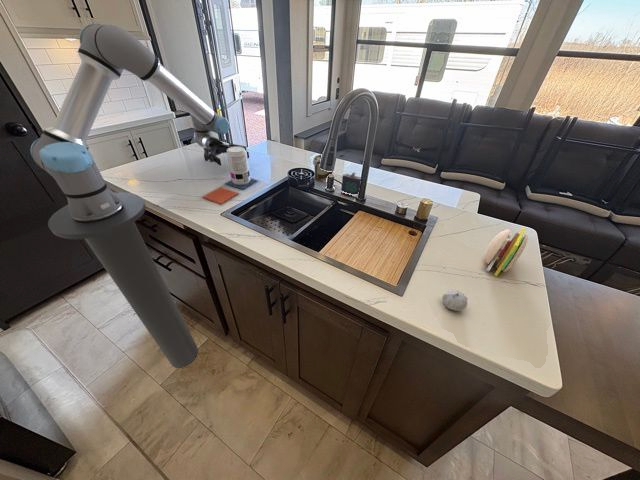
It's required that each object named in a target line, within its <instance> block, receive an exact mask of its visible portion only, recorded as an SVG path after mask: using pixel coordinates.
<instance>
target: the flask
mask: <svg viewBox="0 0 640 480" xmlns="http://www.w3.org/2000/svg"><path fill="white" fill-rule="evenodd" d="M356 174H357V173H356V172H352V173H351V174H350V173H344V174H343V175H342V180H341V188H340V195H343V196H345V197H350V198H353V197H352V195H349V194H345V193H342V192H341V190H342V191H344V192H347V193H351V194H358V192H359V188H360V181H361V177H362V176H357V175H356Z"/></svg>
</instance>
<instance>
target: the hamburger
mask: <svg viewBox="0 0 640 480" xmlns="http://www.w3.org/2000/svg"><path fill="white" fill-rule="evenodd" d="M526 230H527V228H526V227H522V228H521V230H520V231H519V232H516V233H515V234H514V235H513V233H511V231H512V229H504V230H502V231H500V232H499V233H498V234H496V236H494V238H492V240H491V241H490V242H489V244H488V246H487V248H486V250H485V254H484V261H485V263H486V264H488V266H487V268H486V271H487V272H490V271H491V270H492V267H493V266H494V264H495V266H494V267H495V268H496V271H495V272H494V274H493V275H494V276H495V277H498V275H499V274H500V273H501V272H502V273H505V272H507V271H509V270H510V269H511V268H512V267H513V266H514V265H515V264H516V262H517V261H518V260H519V258H520V257H521V256H522V254H523V252H524V250H525V248H526V246H527V243H528V234H525V232H526ZM524 234H525V235H524ZM512 235H513V237H512ZM511 237H512V238H511ZM510 239H511V240H510ZM498 258H499V259H498ZM497 259H498V261H497ZM496 261H497V262H496ZM495 262H496V263H495Z"/></svg>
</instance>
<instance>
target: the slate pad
mask: <svg viewBox="0 0 640 480" xmlns="http://www.w3.org/2000/svg"><path fill="white" fill-rule="evenodd" d="M257 182H258V180H257V179H254V178H251V177H250V181H249V183H247V184H245V185H236V184H234V183H233V182H232V179H230V180H229V181H226V183H224V184H225V185H227V186H229V187H233V188H235V189H239V190H243V191H244V190H245V189H247V188H249V187H250V186H252V185H253V184H255V183H257Z"/></svg>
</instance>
